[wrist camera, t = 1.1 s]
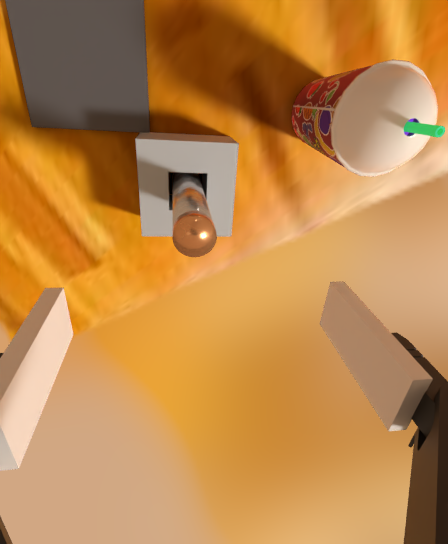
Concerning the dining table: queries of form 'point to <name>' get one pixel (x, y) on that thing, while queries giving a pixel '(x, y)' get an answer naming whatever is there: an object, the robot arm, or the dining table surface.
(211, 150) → the eye block
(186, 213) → the peg
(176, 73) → the dining table surface
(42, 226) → the dining table surface
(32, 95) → the mat
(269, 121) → the dining table surface
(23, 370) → the robot arm
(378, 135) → the smoothie
